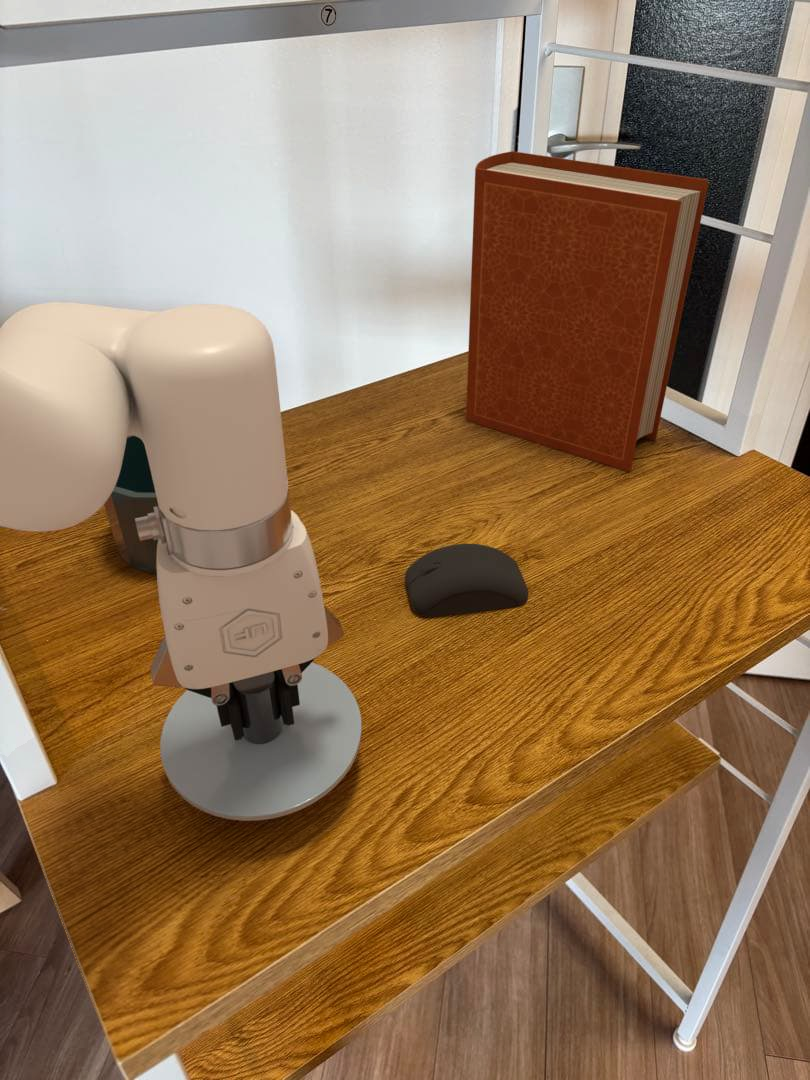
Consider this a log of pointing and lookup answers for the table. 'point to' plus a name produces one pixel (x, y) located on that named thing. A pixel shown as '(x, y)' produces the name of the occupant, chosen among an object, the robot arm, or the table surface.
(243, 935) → the table surface
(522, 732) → the table surface
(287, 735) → the lid
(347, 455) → the table surface
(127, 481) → the tin
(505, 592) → the computer mouse
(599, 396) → the book
